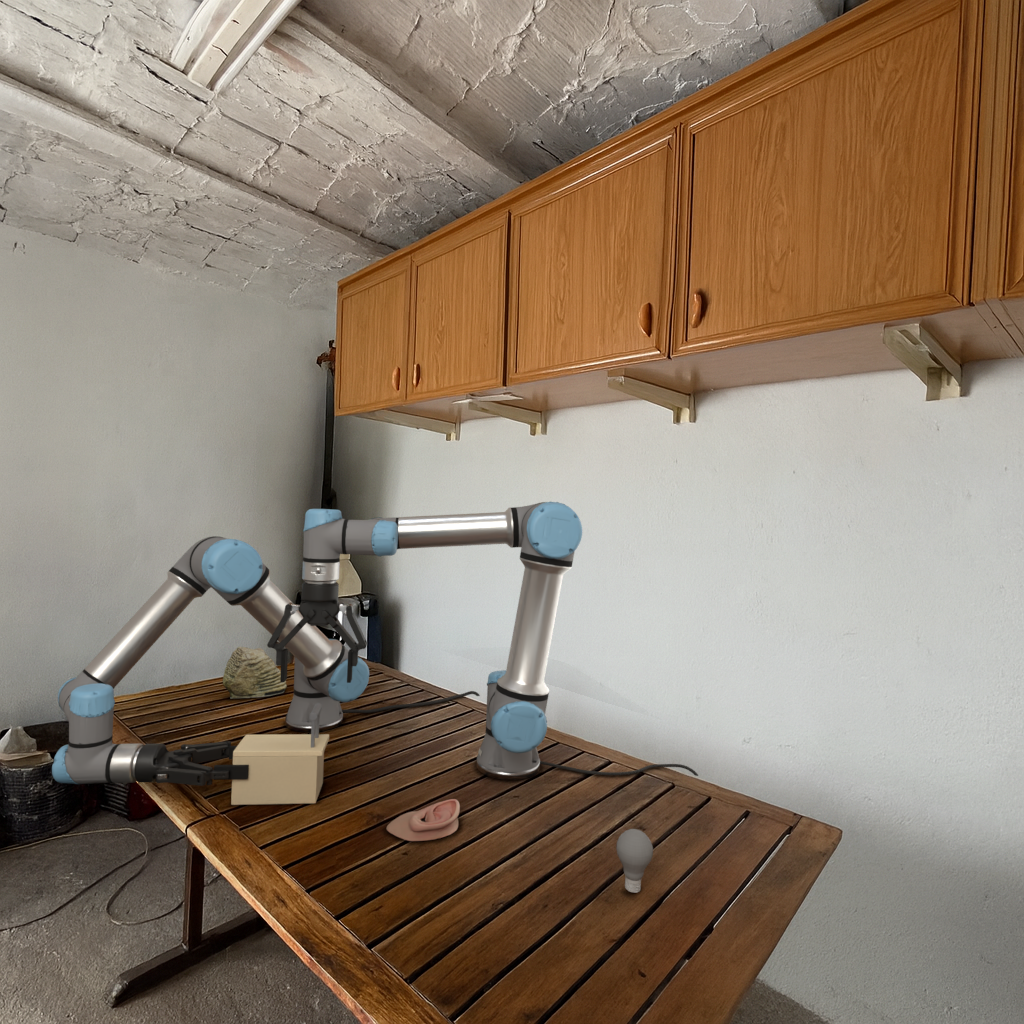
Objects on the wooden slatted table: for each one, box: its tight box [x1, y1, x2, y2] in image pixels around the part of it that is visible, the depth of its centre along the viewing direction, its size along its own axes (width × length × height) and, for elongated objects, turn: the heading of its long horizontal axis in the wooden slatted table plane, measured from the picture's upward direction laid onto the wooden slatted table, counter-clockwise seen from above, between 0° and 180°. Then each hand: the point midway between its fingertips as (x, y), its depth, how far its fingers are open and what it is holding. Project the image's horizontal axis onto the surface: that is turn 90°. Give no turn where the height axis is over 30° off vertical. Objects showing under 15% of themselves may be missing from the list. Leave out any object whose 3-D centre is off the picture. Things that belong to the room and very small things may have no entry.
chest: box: [230, 752, 325, 806], centre depth 134 cm, size 17×9×10 cm, turn 98°
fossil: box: [222, 646, 288, 699], centre depth 198 cm, size 9×18×15 cm, turn 132°
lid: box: [233, 703, 330, 757], centre depth 134 cm, size 18×9×8 cm, turn 98°
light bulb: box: [615, 828, 654, 894], centre depth 106 cm, size 6×6×10 cm
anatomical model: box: [386, 798, 461, 842], centre depth 123 cm, size 13×4×12 cm
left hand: (254, 761), depth 134 cm, fingers closed on chest, 9 cm apart
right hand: (316, 681), depth 135 cm, fingers open, 13 cm apart
